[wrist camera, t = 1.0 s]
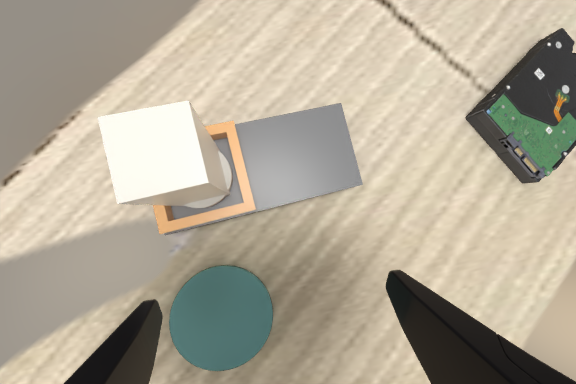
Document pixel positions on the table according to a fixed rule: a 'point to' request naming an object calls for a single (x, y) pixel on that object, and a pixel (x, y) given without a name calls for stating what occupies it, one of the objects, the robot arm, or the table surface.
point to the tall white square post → (164, 158)
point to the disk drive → (533, 110)
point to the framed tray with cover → (274, 165)
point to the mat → (221, 318)
